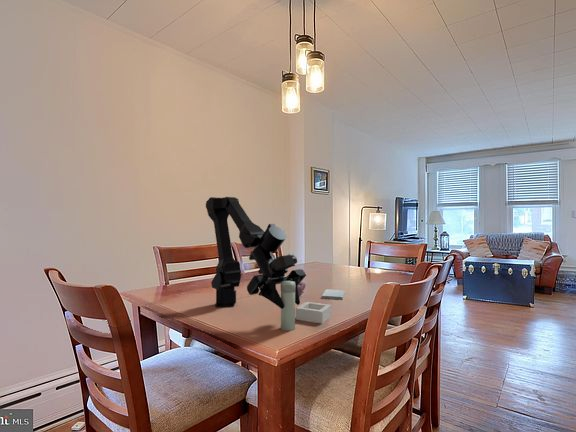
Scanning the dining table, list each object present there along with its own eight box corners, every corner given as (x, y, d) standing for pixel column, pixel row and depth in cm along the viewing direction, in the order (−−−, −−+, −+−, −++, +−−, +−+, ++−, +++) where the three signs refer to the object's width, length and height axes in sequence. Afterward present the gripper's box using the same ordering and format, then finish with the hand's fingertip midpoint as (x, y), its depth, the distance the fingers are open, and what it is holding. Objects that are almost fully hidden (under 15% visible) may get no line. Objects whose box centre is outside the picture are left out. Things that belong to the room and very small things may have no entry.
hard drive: (342, 297, 123) (344, 289, 135) (321, 295, 125) (325, 288, 137) (342, 301, 123) (344, 293, 135) (321, 300, 125) (325, 292, 137)
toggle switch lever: (280, 331, 88) (281, 283, 89) (280, 325, 93) (280, 280, 93) (295, 330, 89) (296, 283, 89) (294, 325, 93) (294, 280, 93)
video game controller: (297, 304, 122) (305, 288, 122) (286, 298, 123) (295, 282, 123) (301, 297, 132) (309, 283, 132) (291, 292, 133) (299, 277, 132)
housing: (295, 319, 99) (295, 308, 99) (306, 312, 106) (306, 301, 106) (322, 323, 95) (322, 311, 95) (331, 315, 103) (331, 304, 103)
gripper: (253, 246, 88) (279, 294, 79) (302, 243, 100) (328, 284, 92) (236, 271, 93) (259, 318, 85) (285, 265, 106) (308, 306, 98)
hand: (291, 305), depth 90 cm, fingers open, 6 cm apart
